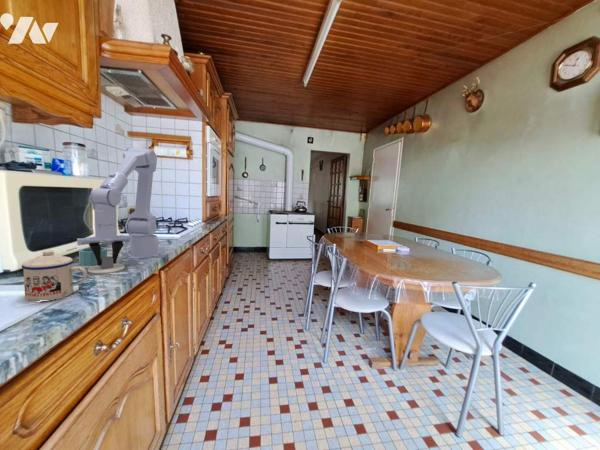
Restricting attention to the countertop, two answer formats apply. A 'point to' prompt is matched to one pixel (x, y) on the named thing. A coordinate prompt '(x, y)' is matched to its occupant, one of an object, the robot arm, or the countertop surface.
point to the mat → (104, 273)
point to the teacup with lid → (49, 277)
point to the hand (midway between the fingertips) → (106, 264)
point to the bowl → (90, 256)
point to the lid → (106, 266)
